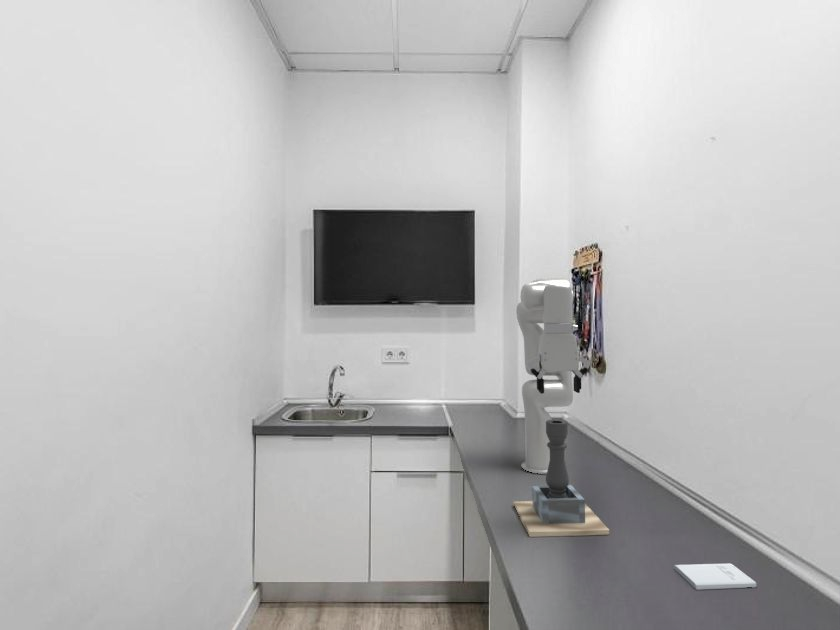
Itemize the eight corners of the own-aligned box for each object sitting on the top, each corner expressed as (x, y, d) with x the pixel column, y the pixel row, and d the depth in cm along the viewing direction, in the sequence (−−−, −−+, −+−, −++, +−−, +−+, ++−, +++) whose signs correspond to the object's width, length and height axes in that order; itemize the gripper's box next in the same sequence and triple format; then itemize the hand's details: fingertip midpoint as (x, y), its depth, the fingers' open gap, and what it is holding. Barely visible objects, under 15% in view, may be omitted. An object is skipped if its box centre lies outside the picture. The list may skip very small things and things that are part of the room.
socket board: (513, 505, 145) (513, 480, 145) (582, 504, 146) (581, 479, 146) (529, 536, 125) (529, 508, 125) (609, 534, 126) (608, 506, 126)
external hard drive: (674, 571, 109) (730, 569, 109) (696, 592, 101) (756, 590, 101) (674, 564, 109) (730, 561, 109) (696, 584, 101) (756, 581, 101)
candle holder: (553, 520, 132) (552, 425, 132) (541, 511, 138) (540, 420, 138) (574, 517, 133) (573, 423, 133) (561, 508, 139) (560, 418, 139)
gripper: (585, 328, 140) (586, 389, 141) (523, 329, 140) (524, 390, 140) (594, 329, 133) (595, 394, 133) (529, 330, 133) (530, 395, 133)
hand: (559, 392), depth 137 cm, fingers open, 9 cm apart
